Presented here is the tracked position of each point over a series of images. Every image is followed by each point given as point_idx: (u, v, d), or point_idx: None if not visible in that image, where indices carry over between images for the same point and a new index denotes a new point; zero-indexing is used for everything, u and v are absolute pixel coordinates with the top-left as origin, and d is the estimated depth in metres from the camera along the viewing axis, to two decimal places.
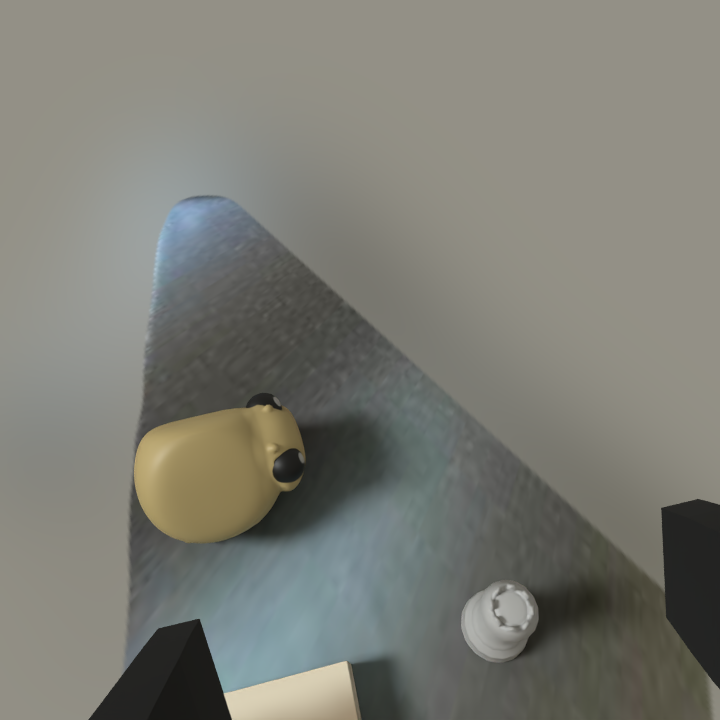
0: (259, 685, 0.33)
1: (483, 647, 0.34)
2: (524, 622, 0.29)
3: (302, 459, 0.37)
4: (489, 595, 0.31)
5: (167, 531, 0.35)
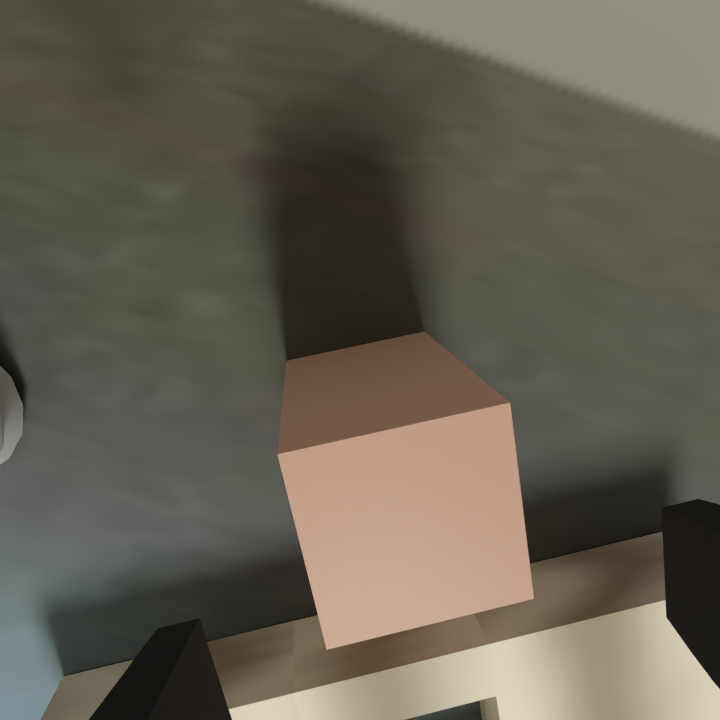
0: None
1: None
2: None
3: None
4: None
5: None
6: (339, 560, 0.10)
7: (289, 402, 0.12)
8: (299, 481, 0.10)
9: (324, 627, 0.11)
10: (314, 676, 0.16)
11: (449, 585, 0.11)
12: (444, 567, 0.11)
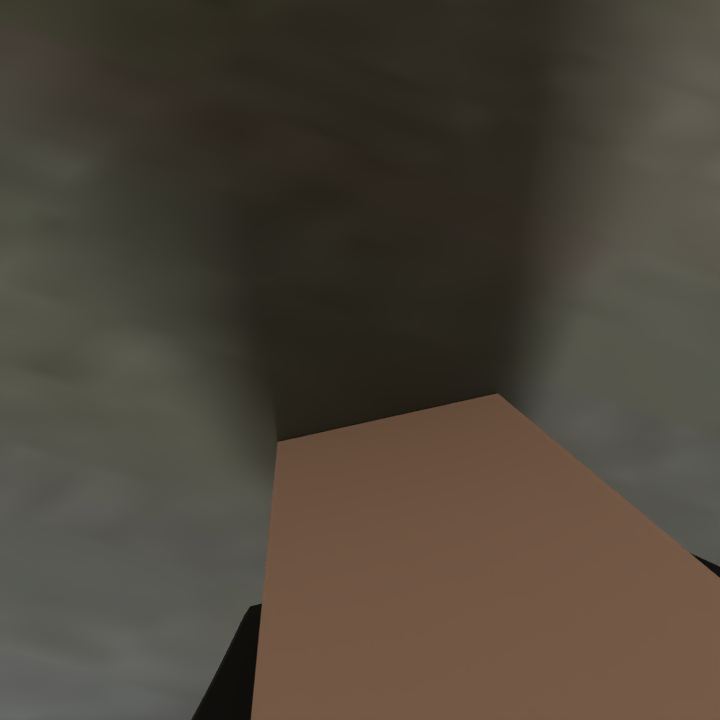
0: None
1: None
2: None
3: None
4: None
5: None
6: None
7: (278, 577, 0.06)
8: None
9: None
10: None
11: None
12: None
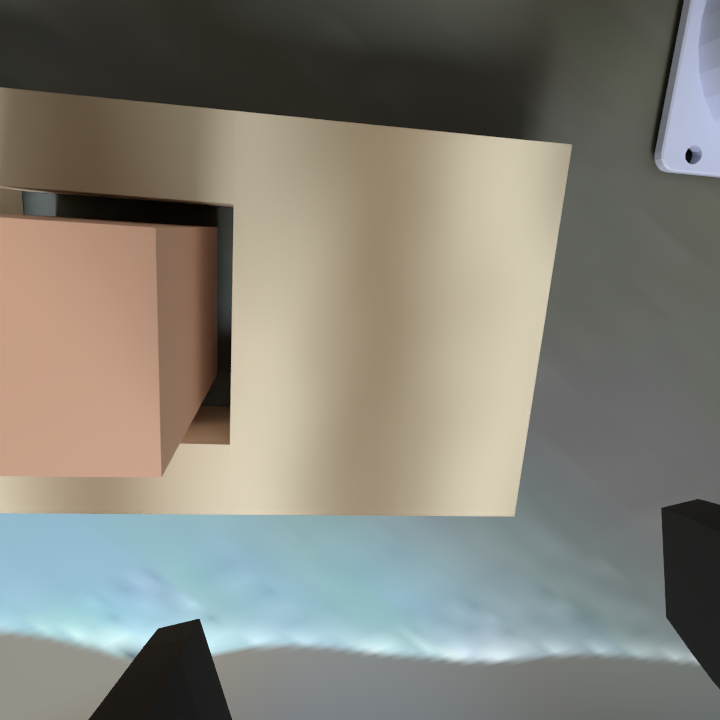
0: None
1: None
2: None
3: None
4: None
5: None
6: None
7: None
8: None
9: None
10: None
11: (58, 434, 0.09)
12: (54, 409, 0.09)
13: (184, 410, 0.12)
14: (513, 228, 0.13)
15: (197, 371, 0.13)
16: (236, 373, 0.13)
